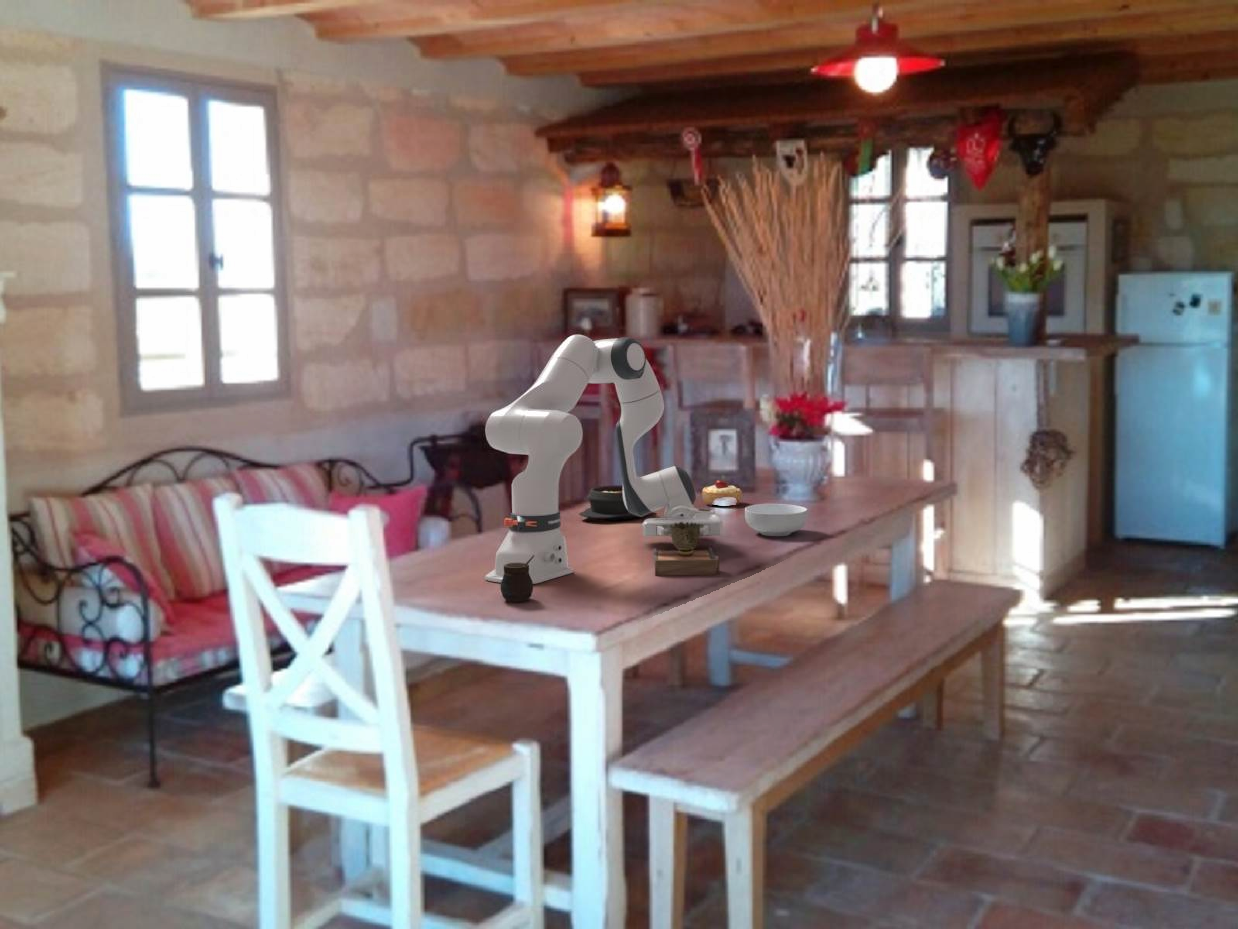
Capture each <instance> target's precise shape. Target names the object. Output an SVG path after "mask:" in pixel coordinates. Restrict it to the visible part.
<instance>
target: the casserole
mask: <svg viewBox="0 0 1238 929" xmlns="http://www.w3.org/2000/svg"><path fill="white" fill-rule="evenodd" d="M586 498H587V499H588V501H589V506H590V507H589V508H585V510H583V511H582V512H579V513H578V515H579V516H581V517H584V518H590V519H600V520H606V521H620V520H621V521H623V520H630V519H634V518H637V517H638V516H636V515H634V514H631V513H630V512H628V510H627V509H626V507H625V504H624V501H623V484H621V485H619V484H618V485H617V484H615V485H614V484H613V485H612V484H611V485H601V486H596V487H592V488H590V490H589V493H588V495H587V496H586Z"/></svg>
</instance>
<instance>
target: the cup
mask: <svg viewBox="0 0 1238 929" xmlns="http://www.w3.org/2000/svg"><path fill="white" fill-rule="evenodd" d="M670 527H671V534H672V537H671V540H672V544H673V546H674V548H676V550H677V551H679V552H678V553H679V555H680V556H682V557H689V556H692V554H693V551H692V550H695V548H697V546H698V544H699V541H700V540H699V539H700V537H699V532H700V525H699V523H698V525H696V523H694V524H693V522H692V523H691V524H690V526H689V524H688V522H687V523H686V524H685V525H684V523H683V522H680V523H679V524H677V523H675V526H674V527H673V526H672V525H670Z"/></svg>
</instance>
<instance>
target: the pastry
mask: <svg viewBox="0 0 1238 929" xmlns="http://www.w3.org/2000/svg"><path fill="white" fill-rule="evenodd" d="M721 478H725V479H726V481H725V480H724V479H722V480H720V479H718V480H715V483H714V484H713V485H710V486H708V485H707V486H704V487H703V488H702V494H701V496H702V499H703V501H704V503H705V504H706V505H708V506H712V505H713V504H712V503H713V501H714V500H715V499H717V498H722V497H734V498H736V500H737V503H736V506H738V505H739V503H740V501H741V499H742V494H743V491H742V490H741V489H740V488H739V487H738V488H737V486H735V485H729V483H728V482H727V480H728V479H727V478H728V477H726V476H725V475H724V474H723V475H722V477H721Z"/></svg>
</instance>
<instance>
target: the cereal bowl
mask: <svg viewBox="0 0 1238 929" xmlns="http://www.w3.org/2000/svg"><path fill="white" fill-rule="evenodd" d="M744 517H745V521H746V524H747V525H748V526H749V527H750V528H752V529H753V530H754V531H757V532H759V533H760V535H762V536H765V537H766V536H767V537H787V536H790V535H791V534H792V533H793V532H794V533H795V532H797V531H799V530H801V529H802V528H803V527H804V525H805V524H806V523H807V519H808V509H807V508H806V507H804V506H800V505H795V504H788V503H787V504H785V503H759V504H753V505H748V506H746V507H745V508H744Z"/></svg>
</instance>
